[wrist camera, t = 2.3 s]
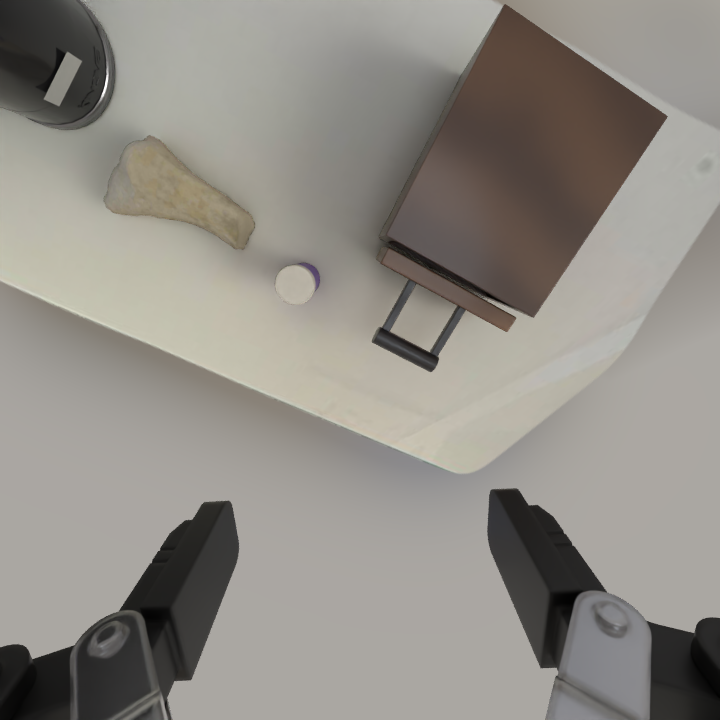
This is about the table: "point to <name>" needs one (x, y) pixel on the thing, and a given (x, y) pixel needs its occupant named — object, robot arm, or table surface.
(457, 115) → the cabinet
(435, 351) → the drawer
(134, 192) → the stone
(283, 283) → the glue stick
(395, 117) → the table surface
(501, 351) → the table surface
